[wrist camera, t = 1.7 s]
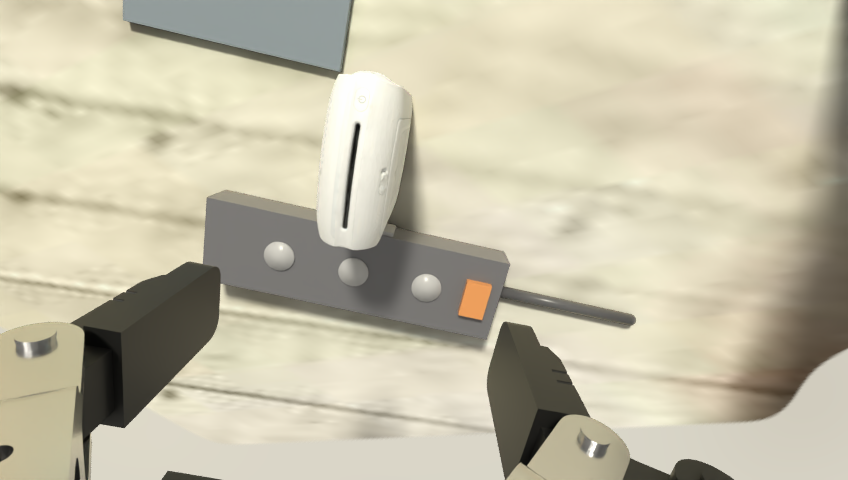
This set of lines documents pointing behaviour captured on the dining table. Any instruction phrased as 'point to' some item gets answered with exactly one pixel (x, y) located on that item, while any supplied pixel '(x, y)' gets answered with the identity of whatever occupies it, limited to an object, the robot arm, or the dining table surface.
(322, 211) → the photo printer
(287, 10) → the rubber mat
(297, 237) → the power strip
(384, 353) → the dining table surface
